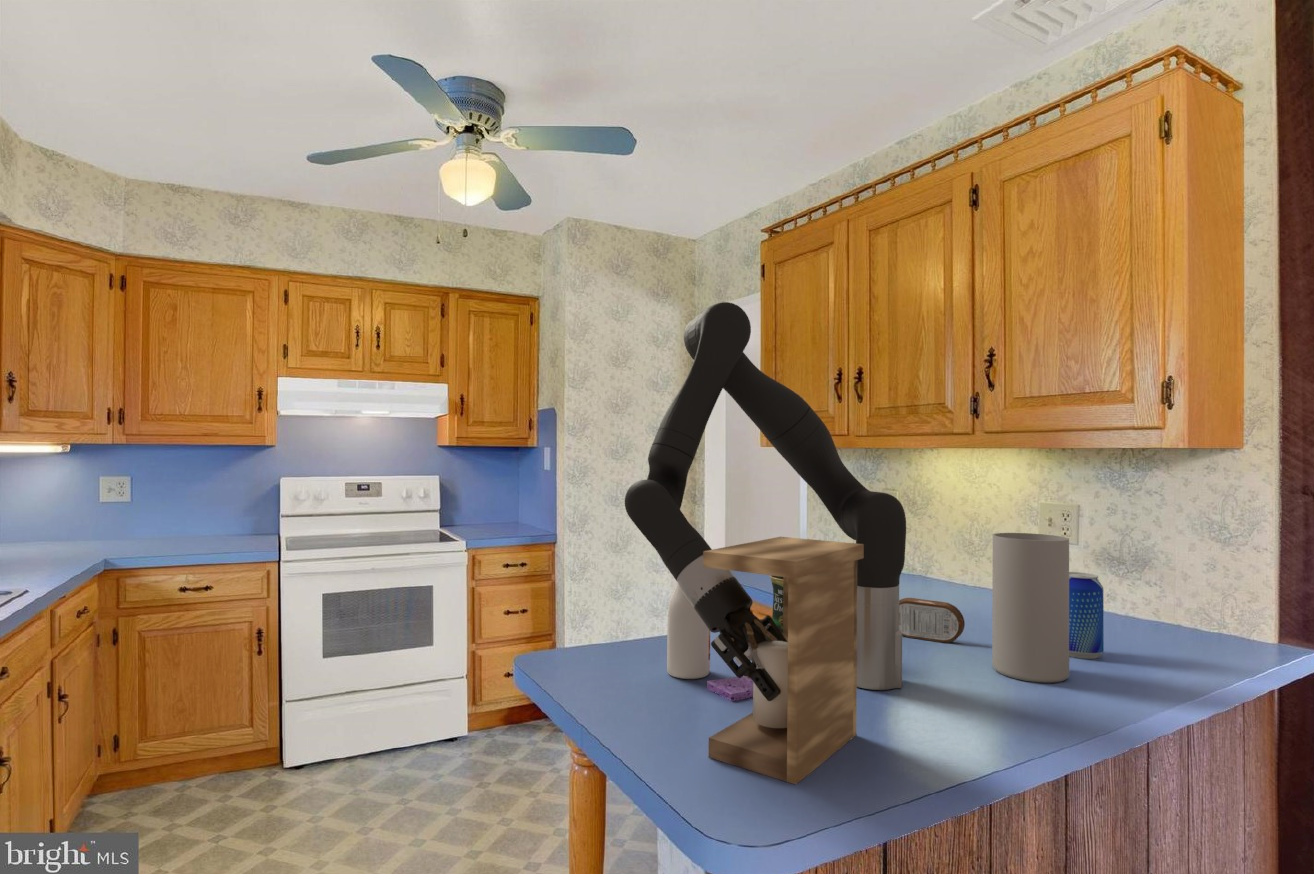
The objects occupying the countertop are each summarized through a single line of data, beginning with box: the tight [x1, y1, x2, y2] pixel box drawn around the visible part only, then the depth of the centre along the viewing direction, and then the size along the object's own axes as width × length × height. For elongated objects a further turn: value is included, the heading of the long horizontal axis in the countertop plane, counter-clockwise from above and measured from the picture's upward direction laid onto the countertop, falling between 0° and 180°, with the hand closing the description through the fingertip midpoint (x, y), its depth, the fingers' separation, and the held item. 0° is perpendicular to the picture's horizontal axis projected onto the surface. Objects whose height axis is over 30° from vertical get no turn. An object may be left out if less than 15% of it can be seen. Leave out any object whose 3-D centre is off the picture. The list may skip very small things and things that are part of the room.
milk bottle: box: [666, 581, 711, 680], centre depth 130 cm, size 8×8×20 cm
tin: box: [899, 597, 965, 644], centre depth 155 cm, size 15×3×8 cm, turn 58°
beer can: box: [1069, 571, 1105, 660], centre depth 145 cm, size 8×8×16 cm
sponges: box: [706, 676, 753, 702], centre depth 121 cm, size 7×13×2 cm, turn 119°
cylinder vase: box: [991, 532, 1070, 684], centre depth 132 cm, size 12×12×25 cm
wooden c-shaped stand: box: [703, 536, 864, 785], centre depth 98 cm, size 13×22×27 cm, turn 143°
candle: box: [752, 641, 788, 728], centre depth 98 cm, size 6×6×10 cm
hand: (786, 690), depth 97 cm, fingers closed on candle, 6 cm apart
